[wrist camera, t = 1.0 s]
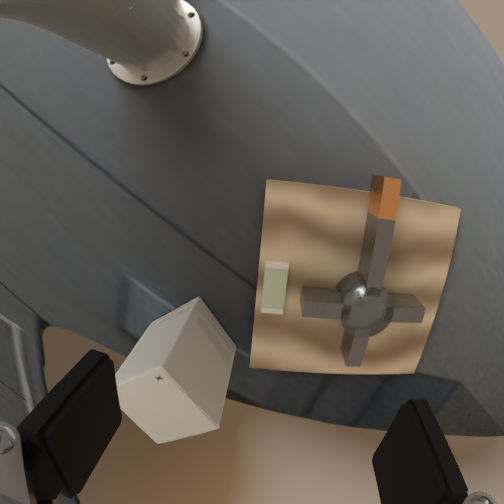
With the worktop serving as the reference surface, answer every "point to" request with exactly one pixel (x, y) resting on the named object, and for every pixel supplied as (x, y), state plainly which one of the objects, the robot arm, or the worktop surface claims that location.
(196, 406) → the supplement box
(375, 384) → the worktop surface
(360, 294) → the capstan
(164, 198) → the worktop surface
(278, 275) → the level window
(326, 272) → the stand plate
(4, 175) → the worktop surface
